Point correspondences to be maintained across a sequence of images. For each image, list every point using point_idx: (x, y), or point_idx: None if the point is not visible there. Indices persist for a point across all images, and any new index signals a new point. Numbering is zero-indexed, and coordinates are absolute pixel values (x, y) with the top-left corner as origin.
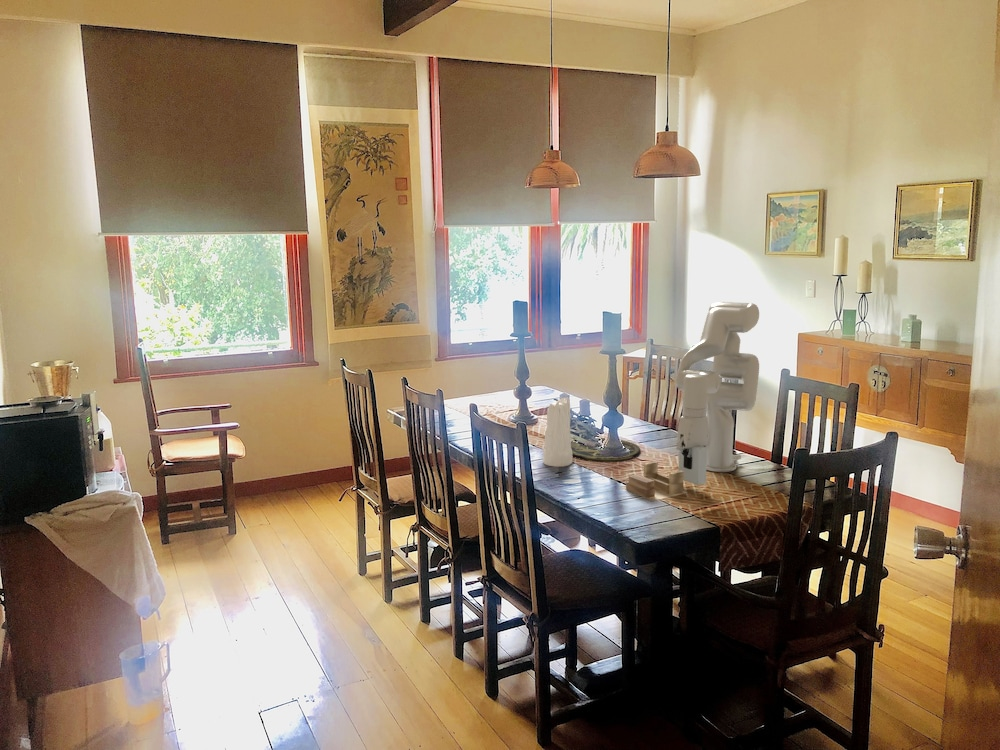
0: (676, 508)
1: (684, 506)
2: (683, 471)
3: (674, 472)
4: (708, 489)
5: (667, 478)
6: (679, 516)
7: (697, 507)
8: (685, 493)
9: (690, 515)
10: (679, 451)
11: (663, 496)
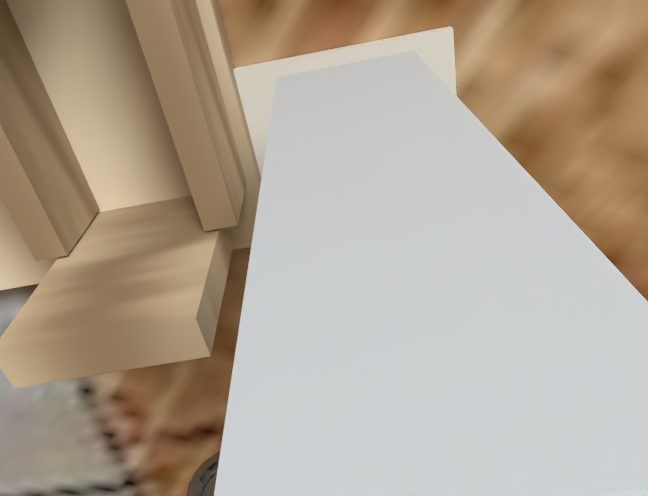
0: (73, 390)
1: (143, 377)
2: (207, 352)
3: (67, 352)
4: (564, 132)
5: (134, 25)
6: (43, 479)
7: (220, 409)
8: (245, 246)
9: (114, 482)
10: (248, 297)
11: (15, 254)
